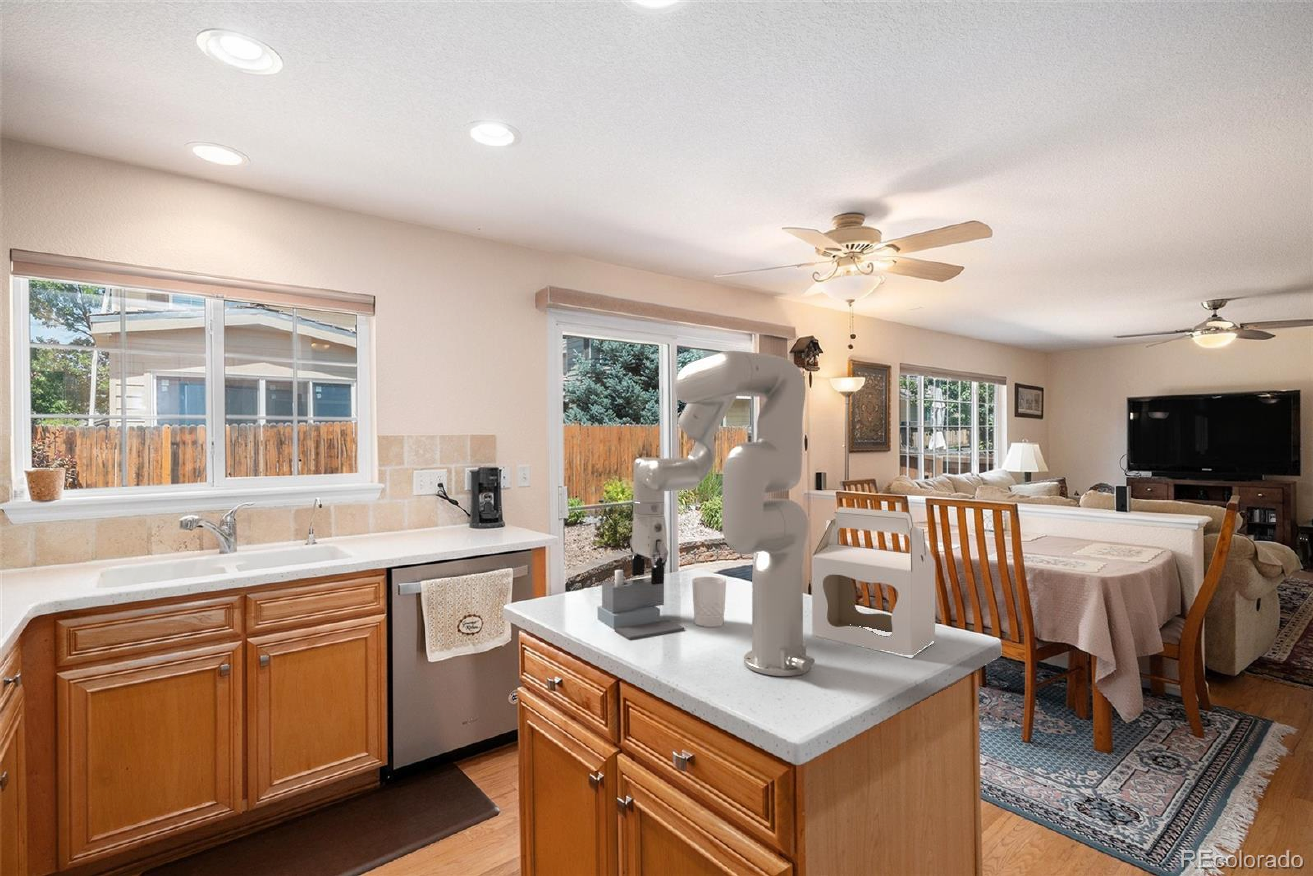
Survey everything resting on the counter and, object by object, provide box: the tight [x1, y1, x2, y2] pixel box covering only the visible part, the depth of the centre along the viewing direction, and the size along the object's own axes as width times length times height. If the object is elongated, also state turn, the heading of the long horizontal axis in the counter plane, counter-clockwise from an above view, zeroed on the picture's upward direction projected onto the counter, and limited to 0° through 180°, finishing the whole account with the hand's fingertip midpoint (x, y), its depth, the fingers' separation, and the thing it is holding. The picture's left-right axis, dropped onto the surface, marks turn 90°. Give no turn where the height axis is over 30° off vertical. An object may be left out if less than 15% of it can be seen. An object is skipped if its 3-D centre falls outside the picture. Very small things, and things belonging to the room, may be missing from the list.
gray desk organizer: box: [601, 576, 665, 614], centre depth 151 cm, size 14×6×6 cm, turn 119°
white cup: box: [691, 576, 727, 628], centre depth 148 cm, size 8×8×10 cm
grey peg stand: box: [597, 569, 661, 630], centre depth 150 cm, size 12×9×12 cm
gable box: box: [811, 506, 936, 655], centre depth 136 cm, size 22×13×28 cm, turn 47°
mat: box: [614, 619, 686, 641], centre depth 142 cm, size 7×14×1 cm, turn 119°
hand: (647, 579), depth 153 cm, fingers open, 9 cm apart
